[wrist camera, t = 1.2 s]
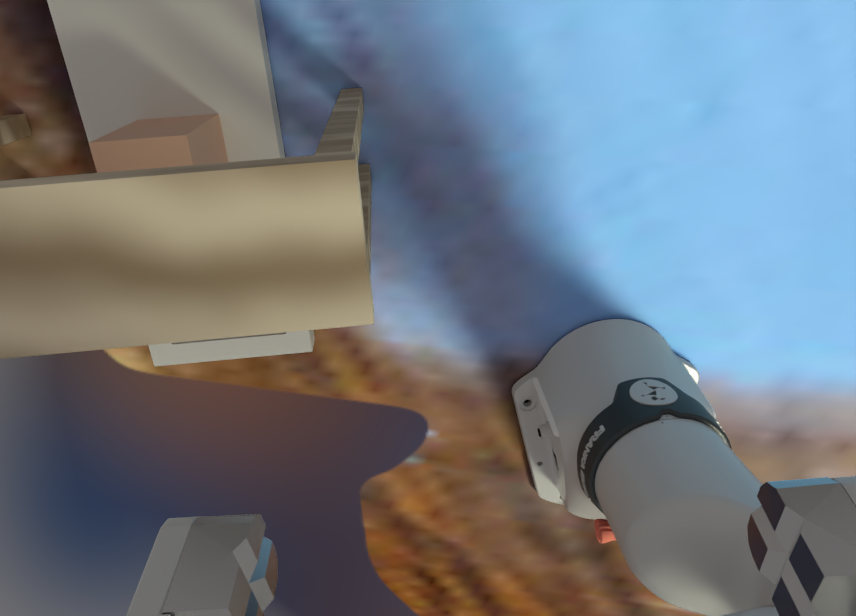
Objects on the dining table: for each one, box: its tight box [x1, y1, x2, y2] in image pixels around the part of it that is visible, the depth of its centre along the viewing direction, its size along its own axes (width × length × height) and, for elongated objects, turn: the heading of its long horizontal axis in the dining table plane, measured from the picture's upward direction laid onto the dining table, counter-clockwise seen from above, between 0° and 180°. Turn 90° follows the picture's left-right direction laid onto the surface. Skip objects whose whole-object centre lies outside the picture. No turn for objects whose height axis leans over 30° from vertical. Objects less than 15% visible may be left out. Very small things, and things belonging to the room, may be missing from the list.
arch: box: [0, 88, 374, 359], centre depth 39 cm, size 8×28×26 cm, turn 94°
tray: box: [47, 0, 315, 366], centre depth 50 cm, size 32×14×2 cm, turn 4°
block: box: [89, 114, 228, 173], centre depth 44 cm, size 6×6×9 cm
